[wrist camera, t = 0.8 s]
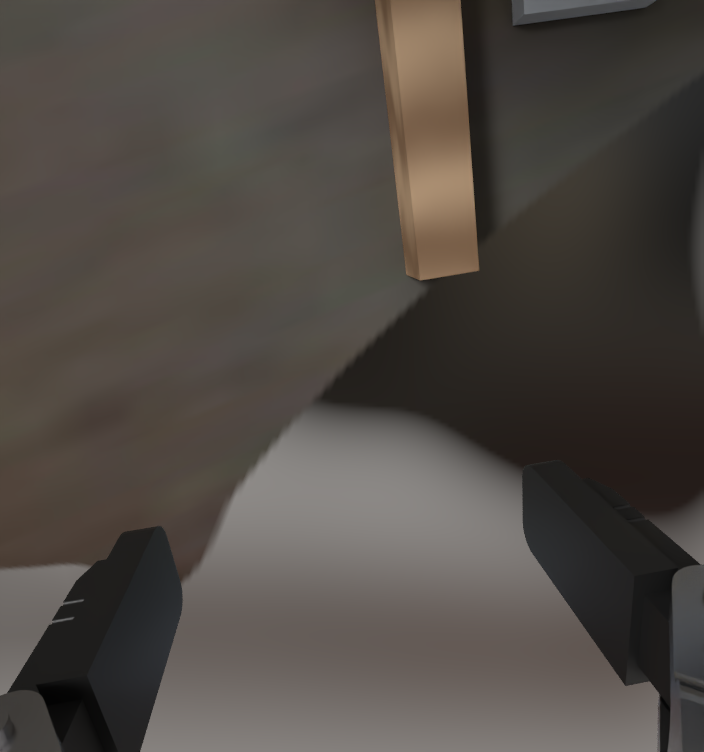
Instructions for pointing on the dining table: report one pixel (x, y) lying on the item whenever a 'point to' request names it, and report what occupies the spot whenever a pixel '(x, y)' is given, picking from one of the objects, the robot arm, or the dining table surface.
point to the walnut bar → (429, 134)
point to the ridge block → (568, 9)
